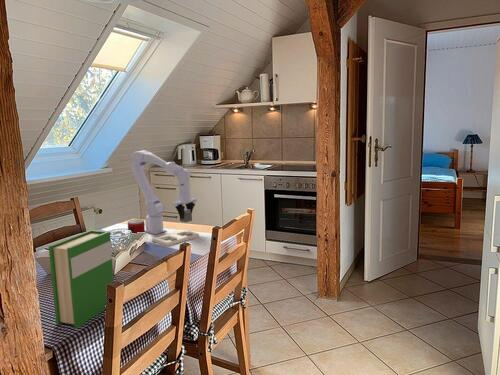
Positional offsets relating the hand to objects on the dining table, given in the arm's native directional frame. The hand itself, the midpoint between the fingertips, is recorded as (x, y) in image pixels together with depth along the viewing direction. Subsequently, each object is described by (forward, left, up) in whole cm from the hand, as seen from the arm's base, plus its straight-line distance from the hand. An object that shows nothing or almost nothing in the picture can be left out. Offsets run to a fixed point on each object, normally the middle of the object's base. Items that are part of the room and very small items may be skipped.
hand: (185, 217), depth 212 cm
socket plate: (+4, -10, -8) cm, 14 cm away
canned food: (-6, -26, -9) cm, 28 cm away
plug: (0, 0, -2) cm, 2 cm away
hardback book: (+45, -78, -9) cm, 91 cm away
